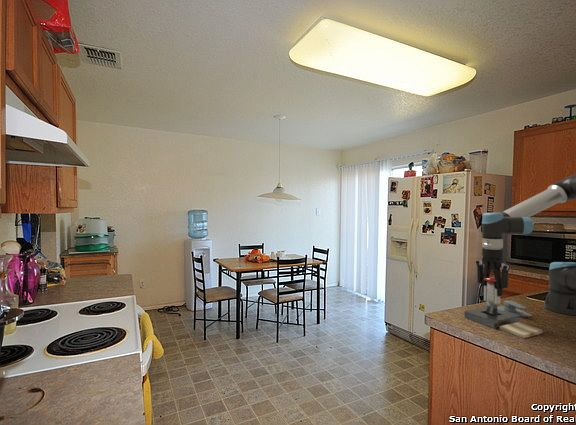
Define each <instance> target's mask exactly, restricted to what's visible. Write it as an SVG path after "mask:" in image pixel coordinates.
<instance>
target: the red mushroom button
mask: <svg viewBox="0 0 576 425" xmlns="http://www.w3.org/2000/svg"><path fill="white" fill-rule="evenodd" d="M484 280H485V281H487V301H486V307H487V312H488V313H491V314H497V313H498V304H495V288H497V287H496V282H497V280H496V279H495V277H494V276H490V277H484Z"/></svg>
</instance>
